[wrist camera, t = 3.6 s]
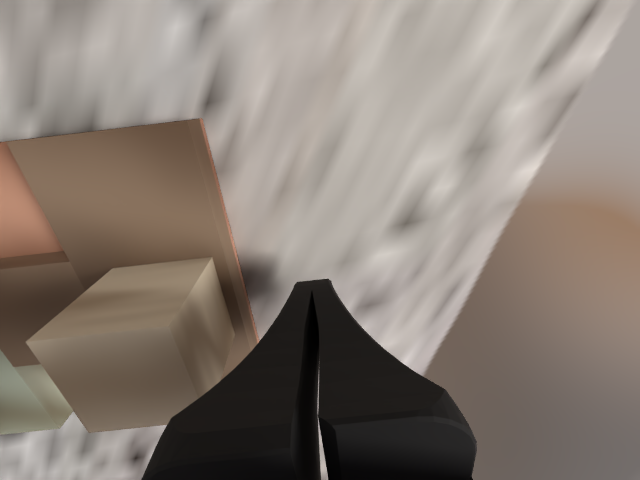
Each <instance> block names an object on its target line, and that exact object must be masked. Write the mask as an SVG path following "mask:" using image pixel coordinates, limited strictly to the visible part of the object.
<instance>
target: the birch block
mask: <svg viewBox="0 0 640 480" xmlns="http://www.w3.org/2000/svg"><path fill="white" fill-rule="evenodd" d="M234 336H235V333H234V329H233V326H232V323H231V319H230V316H229V313H228V309H227V306H226V302H225V299H224V296H223V292H222V289H221V286H220V282H219V279H218V276H217V272H216V269H215V265H214V262H213V259H212V257H209V258H200V259H191V260H182V261H173V262H164V263H155V264H147V265H138V266H129V267H120V268H112V269H111V270H110V271H109V272H108V273H106V274H105V275H104V276H103V277H102V278H101V279H99V280H98V281H97V282H96V283H95V284H93V285H92V286H91V287H90V288H89V289H88V290H86V291H85V292H84V293H83V294H82V295H80V296H79V297H78V298H77V299H76V300H75V301H73V302H72V303H71V304H70V305H69V306H67V307H66V308H65V309H64V310H63V311H62V312H60V313H59V314H58V315H57V316H56V317H54V318H53V319H52V320H51V321H50V322H49V323H47V324H46V325H45V326H44V327H43V328H41V329H40V330H39V331H38V332H37V333H36V334H34V335H33V336H32V337H31V338H30V339H28V340H27V341H26V343H27V345H28V346H29V348H30V349H31V351H32V352H33V353H34V355H35V356H36V358H37V359H38V361H39V362H40V363H41V365H42V366H43V368H44V369H45V371H46V372H47V374H48V375H49V376H50V378H51V379H52V381H53V382H54V384H55V385H56V386H57V388H58V389H59V391H60V392H61V394H62V395H63V397H64V398H65V399H66V401H67V402H68V404H69V405H70V407H71V408H72V409H73V411H74V412H75V414H76V415H77V417H78V418H79V419H80V421H81V422H82V424H83V425H84V427H85V428H86V430H87V431H88V432H89V433H93V432H102V431H112V430H121V429H131V428H140V427H150V426H159V425H168V423H169V421H170V419H171V418H172V417H173V416H175V415H176V414H178V413H179V412H180V411H182V410H183V409H185V408H186V407H187V406H189V405H190V404H191V403H193V402H194V401H196V400H197V399H198V398H200V397H201V396H202V395H204V394H205V393H206V392H208V391H209V390H210V389H211V388H212V387H214V386H215V385H216V384H217V383H219V382H220V380H221V377H222V374H223V371H224V368H225V365H226V361H227V358H228V355H229V352H230V349H231V346H232V343H233V339H234Z"/></svg>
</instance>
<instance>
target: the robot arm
mask: <svg viewBox="0 0 640 480" xmlns="http://www.w3.org/2000/svg"><path fill="white" fill-rule="evenodd" d="M318 375H319V409H318V413H317V398H318ZM318 418H319V424H320V430H321V436H322V443H323V449H324V455H325V461H326V467H327V473H328V480H473V479H472V471H473V467H474V461H475V456H476V451H477V447H476V439H475V437H474V435H473V433H472V430H471V428H470V427H469V424H468V423H467V421H466V419H465V418H464V416H463V414H462V413H461V411H460V410H459V408H458V407H457V406H456V404H455V402H454V401H453V399H452V398H451V397H450V395H449V394H448V392H447V391H446V390H445V389H444V388H442V387H440V386H438V385H436V384H435V383H433V382H431V381H430V380H428V379H426V378H424V377H423V376H421V375H419V374H418V373H416V372H414V371H413V370H411V369H410V368H409V367H407V366H406V365H404V364H403V363H401V362H400V361H399V360H398V359H396V358H395V357H394V356H393V355H391V354H390V353H389V352H387V351H386V350H385V349H384V348H383V347H381V346H380V345H379V344H378V343H377V342H376V341H375V340H374V339H373V338H372V337H371V336H370V335H369V334H368V333H367V332H366V331H365V330H364V329H363V328H362V327H361V326H360V325H359V324H358V323H357V321H356V320H355V319H354V318H353V317H352V315H351V314H350V313H349V311H348V310H347V309H346V307H345V306H344V304H343V303H342V302H341V300H340V298H339V297H338V295H337V293H336V292H335V290H334V288H333V285H332V283H331V281H330V280H329V279H321V280H312V281H303V282H297V283H296V284H295V285H294V288H293V290H292V292H291V294H290V296H289V298H288V300H287V302H286V303H285V305H284V307H283V308H282V310H281V312H280V313H279V315H278V317H277V318H276V320H275V321H274V322H273V324H272V325H271V327H270V328H269V330H268V331H267V332H266V334H265V335H264V336H263V338H262V339H261V340H260V341H259V343H258V344H257V345H256V346H255V347H254V348H253V350H252V351H251V352H250V353H249V354H248V355H247V356H246V357H245V358H244V359H243V360H242V361H241V362H240V363H239V364H238V365H237V366H236V367H235V368H234V369H233V370H232V371H231V372H230V373H229V374H228V375H227V376H226V377H224V378H223V379H222V380H221V381H220V382H219V383H217V384H216V385H215V386H214V387H212V388H211V389H210V390H209V391H208V392H206V393H205V394H204V395H202V396H201V397H200V398H198V399H197V400H196V401H194V402H193V403H191V404H190V405H189V406H187V407H186V408H185V409H183V410H182V411H180V412H179V413H178V414H176V415H175V416H173V417H172V418H171V419H170V421H169V423H168V425H167V427H166V428H165V430H164V432H163V434H162V435H161V437H160V440H159V442H158V444H157V446H156V448H155V450H154V453H153V455H152V457H151V459H150V462H149V464H148V466H147V468H146V471H145V473H144V475H143V478H142V480H321V473H320V454H319V434H318Z"/></svg>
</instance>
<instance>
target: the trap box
mask: <svg viewBox="0 0 640 480" xmlns="http://www.w3.org/2000/svg"><path fill="white" fill-rule="evenodd" d="M209 257H212V259H213V262H214V265H215V269H216V272H217V276H218V279H219V282H220V286H221V289H222V292H223V296H224V299H225V302H226V306H227V309H228V313H229V316H230V319H231V323H232V326H233V329H234V333H235V336H234V339H233V343H232V346H231V349H230V352H229V355H228V358H227V361H226V365H225V368H224V371H223V374H222V377H221V380H222V379H223V378H224V377H226V376H227V375H228V374H229V373H230V372H231V371H232V370H233V369H234V368H235V367H236V366H237V365H238V364H239V363H240V362H241V361H242V360H243V359H244V358H245V357H246V356H247V355H248V354H249V353H250V352H251V351H252V350H253V348H254V347H255V346H256V345H257V344H258V343H259V339H258V335H257V331H256V327H255V323H254V319H253V315H252V311H251V307H250V303H249V300H248V296H247V292H246V288H245V284H244V280H243V276H242V272H241V268H240V264H239V261H238V257H237V253H236V249H235V245H234V241H233V237H232V233H231V229H230V225H229V221H228V218H227V214H226V210H225V206H224V202H223V198H222V194H221V190H220V186H219V182H218V178H217V175H216V171H215V167H214V163H213V159H212V155H211V151H210V147H209V143H208V139H207V135H206V132H205V128H204V124H203V120H202V118H201V119H192V120H184V121H175V122H167V123H159V124H150V125H142V126H133V127H125V128H116V129H108V130H100V131H91V132H83V133H74V134H66V135H57V136H49V137H41V138H32V139H24V140H15V141H7V142H0V435H3V434H13V433H22V432H31V431H41V430H50V429H60V428H61V426H62V425H63V424H64V422H65V421H66V420H67V419H68V417H69V416H70V415H71V413H72V412H73V409H72V408H71V407H70V405H69V404H68V402H67V401H66V399H65V398H64V397H63V395H62V394H61V392H60V391H59V389H58V388H57V386H56V385H55V384H54V382H53V381H52V379H51V378H50V376H49V375H48V374H47V372H46V371H45V369H44V368H43V366H42V365H41V363H40V362H39V361H38V359H37V358H36V356H35V355H34V353H33V352H32V351H31V349H30V348H29V346H28V345H27V343H26V341H27V340H28V339H30V338H31V337H32V336H33V335H34V334H36V333H37V332H38V331H39V330H40V329H41V328H43V327H44V326H45V325H46V324H47V323H49V322H50V321H51V320H52V319H53V318H54V317H56V316H57V315H58V314H59V313H60V312H62V311H63V310H64V309H65V308H66V307H67V306H69V305H70V304H71V303H72V302H73V301H75V300H76V299H77V298H78V297H79V296H80V295H82V294H83V293H84V292H85V291H86V290H88V289H89V288H90V287H91V286H92V285H93V284H95V283H96V282H97V281H98V280H99V279H101V278H102V277H103V276H104V275H105V274H106V273H108V272H109V271H110V270H111V269H112V268H120V267H129V266H138V265H147V264H155V263H164V262H173V261H182V260H191V259H200V258H209ZM221 380H220V381H221Z"/></svg>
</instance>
